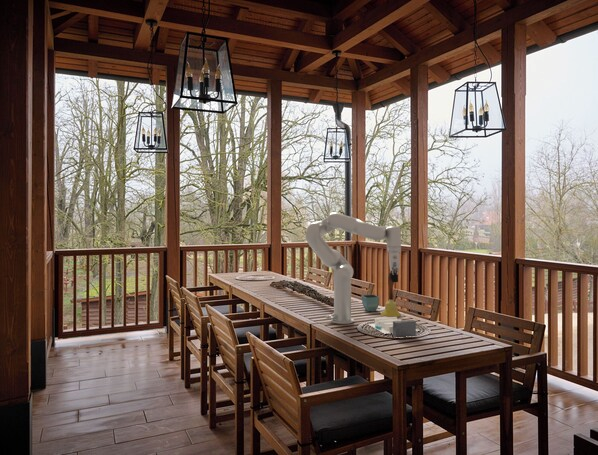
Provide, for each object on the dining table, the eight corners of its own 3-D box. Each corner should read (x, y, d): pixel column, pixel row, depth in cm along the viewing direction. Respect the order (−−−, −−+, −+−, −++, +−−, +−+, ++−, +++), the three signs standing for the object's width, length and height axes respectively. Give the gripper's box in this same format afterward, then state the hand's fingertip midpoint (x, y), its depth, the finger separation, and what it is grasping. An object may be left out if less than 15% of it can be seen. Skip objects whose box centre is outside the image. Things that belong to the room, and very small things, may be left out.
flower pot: (366, 312, 286) (366, 297, 285) (360, 309, 294) (361, 295, 294) (379, 311, 288) (379, 297, 288) (373, 308, 297) (373, 294, 296)
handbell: (386, 317, 272) (386, 274, 271) (377, 313, 284) (377, 272, 283) (405, 316, 275) (405, 274, 274) (395, 311, 287) (395, 271, 286)
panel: (395, 339, 228) (395, 322, 228) (392, 337, 231) (393, 321, 231) (415, 337, 231) (416, 321, 231) (412, 335, 234) (412, 319, 234)
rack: (384, 335, 235) (384, 327, 235) (367, 325, 254) (367, 318, 254) (419, 332, 240) (419, 324, 240) (400, 322, 259) (401, 316, 259)
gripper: (402, 250, 244) (402, 283, 245) (399, 247, 261) (399, 278, 262) (387, 250, 245) (388, 283, 246) (385, 247, 262) (386, 278, 263)
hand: (394, 280), depth 254 cm, fingers open, 9 cm apart
